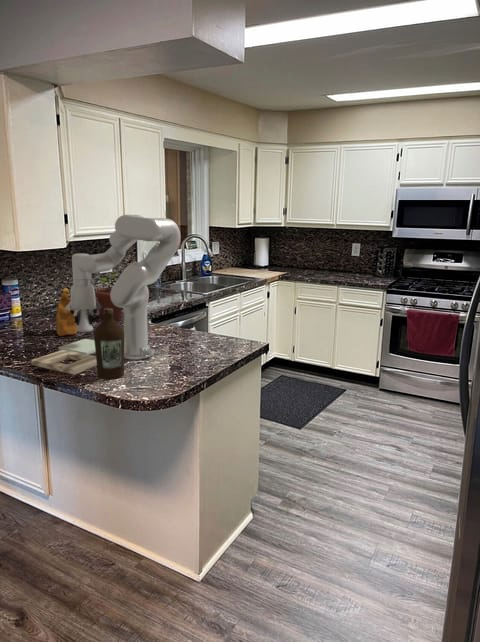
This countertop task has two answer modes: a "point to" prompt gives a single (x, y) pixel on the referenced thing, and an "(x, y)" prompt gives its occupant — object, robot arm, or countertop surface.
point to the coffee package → (65, 317)
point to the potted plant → (107, 302)
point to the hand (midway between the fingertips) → (84, 323)
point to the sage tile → (80, 346)
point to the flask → (84, 322)
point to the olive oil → (109, 347)
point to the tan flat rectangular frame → (73, 368)
